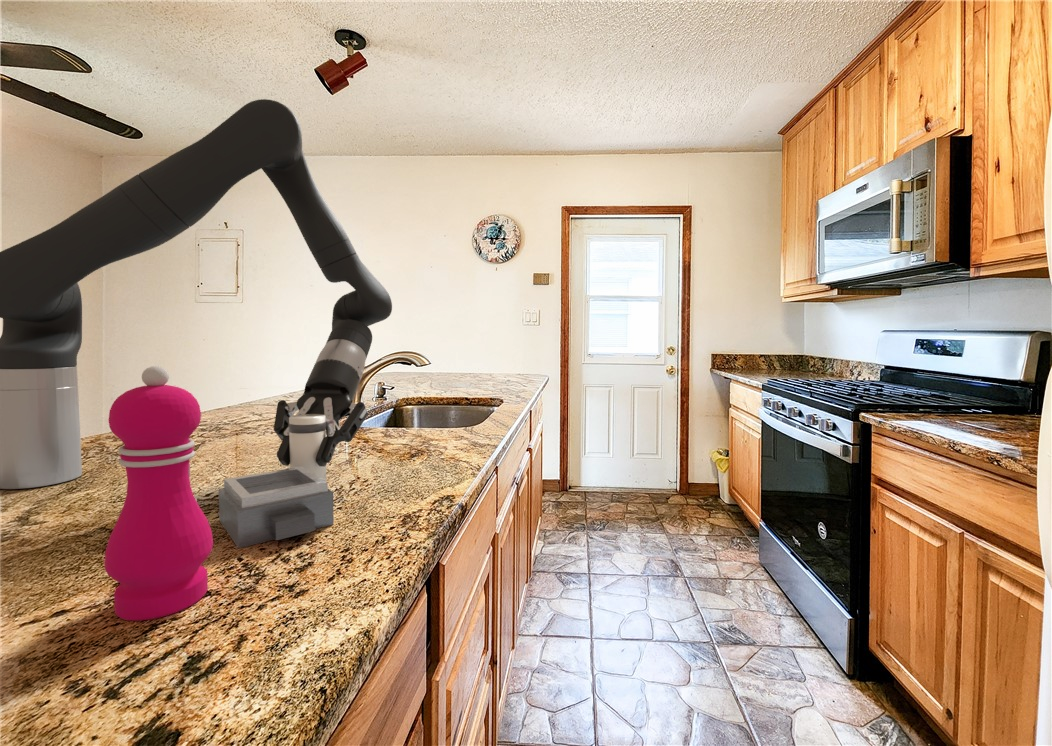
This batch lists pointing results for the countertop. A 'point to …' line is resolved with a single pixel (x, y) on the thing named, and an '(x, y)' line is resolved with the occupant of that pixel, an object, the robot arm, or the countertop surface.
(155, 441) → the pepper mill
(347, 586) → the countertop surface
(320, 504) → the block
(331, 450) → the robot arm
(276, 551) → the countertop surface
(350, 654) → the countertop surface
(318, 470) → the white banded cylinder
